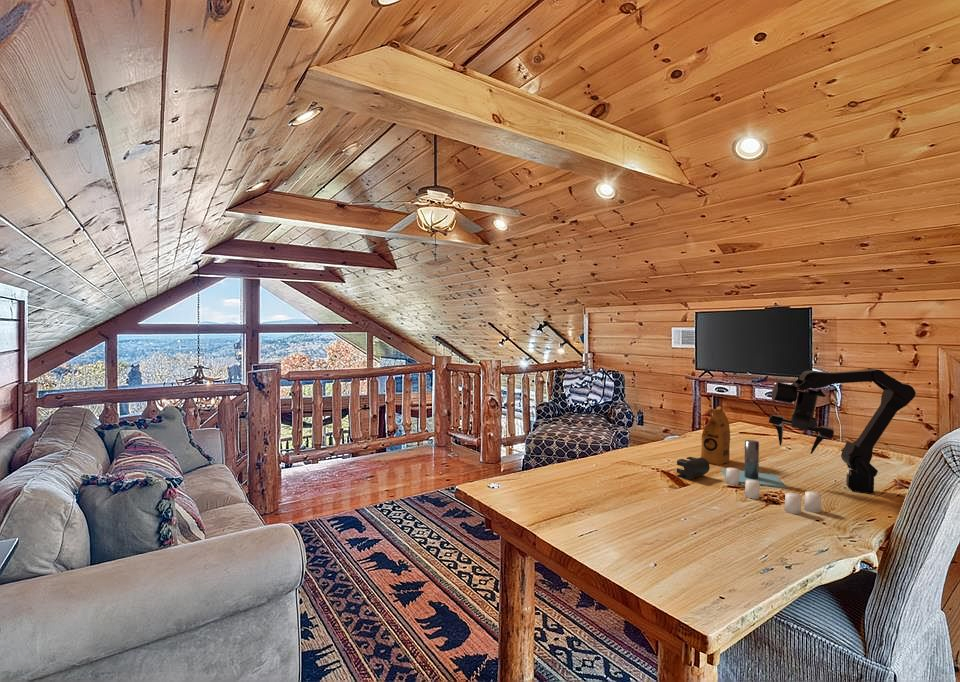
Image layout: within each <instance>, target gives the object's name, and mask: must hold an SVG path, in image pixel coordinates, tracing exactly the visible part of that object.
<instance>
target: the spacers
mask: <svg viewBox="0 0 960 682" xmlns="http://www.w3.org/2000/svg"><path fill="white" fill-rule="evenodd" d="M725 469H726V478H725V483H726V484H728V485H731V486H739V485H740V483H739V471H740V469H739V468H737V467H726V468H725ZM744 485H745V486H744V497H745V498H747V497H748V499H751V498H752V499H753V500H759V499H760V492H761V491H760V487H761V485H760V482H759V481H756V480H749V479H748V480H746V481H745V484H744ZM804 493H805V494H804V507H803V508H804V510H805V511H807V512H810V513H816V514H820V513H821V512H822V494H821V493H819V492H816V491H809V490H808V491H805V492H804ZM784 497H785V498H784V511H785V512H786V513H788V514H791V515H800V514H801V513H802V498H803V496H802V495H801V494H798V493H795V492H785V494H784Z"/></svg>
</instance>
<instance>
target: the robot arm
mask: <svg viewBox="0 0 960 682" xmlns="http://www.w3.org/2000/svg"><path fill="white" fill-rule="evenodd" d="M867 382H868V383H869V382H873V383H874V384H875V385H876V386H877V387H878V388H880V389H881V390H882V391H883V392H882V394H881V397H880V398H881V399H880V404H879V407H877V409H876V411H875V412H874V414H873V415H872V417H871V419H870V420H869V421H868V423H867V425H866V426H865V427H864V429H863V430H862V432H861V434H860V435H859V437H858V438H857V439H856V440H855V441H853V442H850V441H849V440H847V441H846V443H845V445H844V447H843V448H842V449H840V452H841V454H840V457H841V460H842V461H843V462H844V463H845V464H846V466H847V468H848V473H846V481H845V485H847V486H848V487H847V486H846V487H847V488H848V489H849V490H850V491H851V490H852V492H855V491H859V492H858V493H863V492H867V493H866V494H870V493H876V491H875V490H874V489H875V477H877V474H878V473H879V470H878V469H877V468H875V466H874V465H872V464H871V461H872V458H873V451H874V447H875V446H876V445H877V443H878V441H879V440H880V438H881V436H882V435H883V433H884V432H885V430H886V429H887V428H888V426H889V424H890V423H891V422H892V420H893V418H894V417H895V415H896V414H897V412H898V411H901V410H902V409H903V408H905V407H906V406H908V405H909V403H911V401H913V400H914V399H915V398H916V397H915V396H916V393H917V392H916V391H915V388H914V387H913V386H911V385H909V384H908V383H907V384H906V383H902V382H901V381H899V380H898V379H896V378H894V377H892V376H890V375H889V374H887V372H884V371H883V370H882V369H877V368H869V369H862V370H861V369H860V370H849V371H847V370H846V371H845V370H844V371H833V372H831V371H828V372H827V371H817V370H804V371H803V372H802V373H801V374H800V375H799V377H798V378H796V380H795V381H794V382H791V384H790V383H784V382H781V381H776V382H775V385H774V386H773V388H772V390H771V400H772V401H774V402H776V401H777V402H782V403H785V404H792V403H793V402H794V403H795V405H794V410H793V414H792V416H791V419H785V416H782V415H778V414H771V415H770V416H769V420H768V423H770V424H772V426H773V427H774V428H775V429H776V432H777V435H778V443H779V446H782V444H783V437H784V436H783V435H784V426H785V425H786V426H790V427H791V428H793V429H799V430H802V431H810V432H815V433H818V434H817V435H816V437H815V440H814V442H813V445H812V446H811V449H810V455H811V454H812V455H813V453H814V451H815V450H816V449H817V447H818V446H819V444H820V443H822V441H823V440H829V439H833V438H834V434H835V429H834V428H832V427H830V426H825V425H820V427H818V426H817V424H818V423H817V422H818V418H817V417H814V414H815V411H816V406H817V401H818V397H823V398H825V397H826V394H825V393H824V392H823V391H822V389H821V388H826V387H828V386H832V385H836V384H849V383H867ZM828 438H829V439H828Z"/></svg>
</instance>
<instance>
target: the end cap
mask: <svg viewBox="0 0 960 682" xmlns="http://www.w3.org/2000/svg"><path fill="white" fill-rule="evenodd" d="M676 466H678V467H679V466H680V467H683V469H681V468H676V473H677V474H676V476H677V478H681V479H684V480H693V479H695V478H699V477H702V476H704V475H706V474H708V473H709V471H710V468H711V467H710V463H708V461H707V460H706V459H704V458H702V457H701V456H700V457H698V458H697V457H693V456H687V457H686V459H685V458H679V459H677V460H676Z"/></svg>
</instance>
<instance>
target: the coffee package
mask: <svg viewBox="0 0 960 682" xmlns="http://www.w3.org/2000/svg"><path fill="white" fill-rule="evenodd" d="M708 412H709V413H711V414H712V415H711V417H710V418H709V422H708V423H706V424H705V427H704V428H703V430H702V434H701V447H700V448H701V451H700V452H701V453H700V458H701V457H702V458H704V459H706V460H707V461H708V463H709V464H712V465H716V466H723V465H724V464H728V463H729V461H730V454H731V453H730V444H731V430H730V428H731V427H730V421H729V419H728V417H727V415H726V413H725V412H724V409H723V407H722V406H720V405H719V406H717V407H716V408H711V409H710V410H709V411H708Z"/></svg>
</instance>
